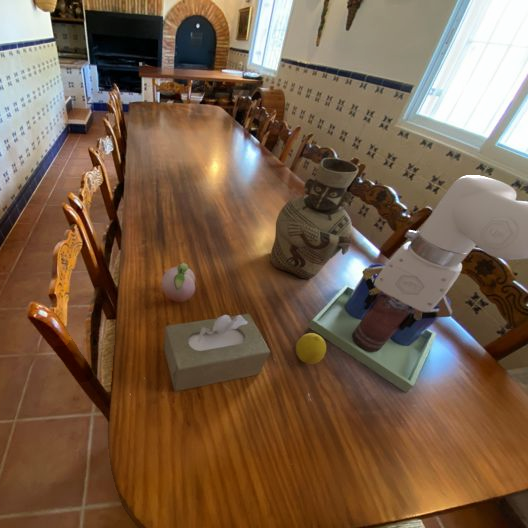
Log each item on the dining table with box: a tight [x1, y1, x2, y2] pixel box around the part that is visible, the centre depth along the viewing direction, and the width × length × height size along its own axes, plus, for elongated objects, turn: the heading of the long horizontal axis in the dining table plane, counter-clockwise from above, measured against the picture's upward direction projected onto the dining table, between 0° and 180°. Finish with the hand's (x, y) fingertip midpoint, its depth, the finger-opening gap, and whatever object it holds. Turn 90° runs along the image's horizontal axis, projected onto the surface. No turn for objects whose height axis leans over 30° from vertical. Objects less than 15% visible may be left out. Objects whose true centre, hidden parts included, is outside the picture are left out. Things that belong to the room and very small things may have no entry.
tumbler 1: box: [344, 262, 386, 320], centre depth 72 cm, size 6×6×14 cm
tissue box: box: [163, 313, 271, 392], centre depth 57 cm, size 19×10×16 cm, turn 104°
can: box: [352, 293, 413, 352], centre depth 64 cm, size 6×6×14 cm
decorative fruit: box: [161, 262, 196, 303], centre depth 73 cm, size 9×8×10 cm
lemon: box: [295, 332, 327, 365], centre depth 62 cm, size 6×6×8 cm
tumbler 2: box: [390, 294, 452, 346], centre depth 67 cm, size 6×6×14 cm
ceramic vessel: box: [270, 157, 359, 280], centre depth 81 cm, size 19×21×30 cm
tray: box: [308, 283, 438, 393], centre depth 70 cm, size 22×20×3 cm
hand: (384, 315), depth 63 cm, fingers closed on can, 6 cm apart
